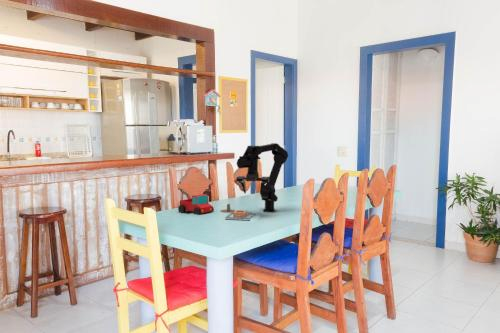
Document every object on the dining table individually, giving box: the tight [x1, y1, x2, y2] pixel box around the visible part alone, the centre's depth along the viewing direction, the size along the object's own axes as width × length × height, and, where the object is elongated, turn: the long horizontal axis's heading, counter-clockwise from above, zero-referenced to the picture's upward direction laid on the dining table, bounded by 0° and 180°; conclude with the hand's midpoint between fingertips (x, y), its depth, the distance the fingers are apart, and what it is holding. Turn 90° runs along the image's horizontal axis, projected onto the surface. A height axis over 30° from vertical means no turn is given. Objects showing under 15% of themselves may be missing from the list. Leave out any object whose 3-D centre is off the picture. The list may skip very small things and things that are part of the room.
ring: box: [232, 209, 248, 218], centre depth 218 cm, size 8×7×3 cm
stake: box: [220, 203, 236, 214], centre depth 232 cm, size 10×10×5 cm
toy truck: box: [177, 193, 215, 216], centre depth 232 cm, size 12×20×11 cm, turn 48°
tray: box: [225, 212, 255, 222], centre depth 219 cm, size 14×14×2 cm
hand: (252, 193), depth 228 cm, fingers open, 9 cm apart
